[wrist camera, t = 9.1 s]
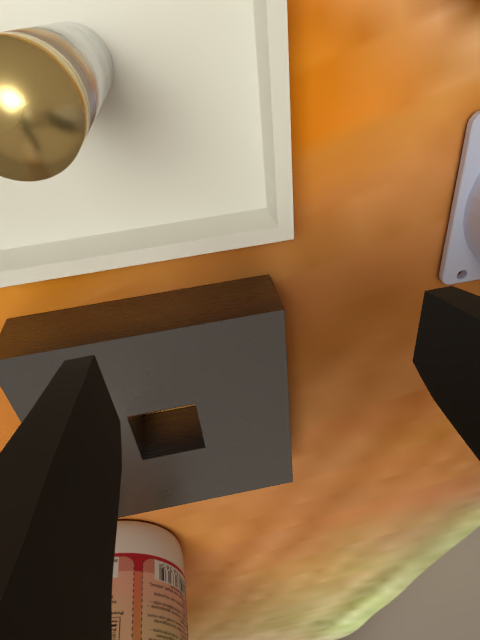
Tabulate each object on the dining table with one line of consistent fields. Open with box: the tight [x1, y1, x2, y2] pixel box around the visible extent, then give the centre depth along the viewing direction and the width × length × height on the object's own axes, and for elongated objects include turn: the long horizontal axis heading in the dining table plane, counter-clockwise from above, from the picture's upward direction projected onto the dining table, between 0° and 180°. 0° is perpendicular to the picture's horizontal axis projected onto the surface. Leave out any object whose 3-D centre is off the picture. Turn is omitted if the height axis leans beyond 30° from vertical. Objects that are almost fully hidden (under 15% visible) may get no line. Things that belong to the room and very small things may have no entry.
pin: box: [0, 21, 114, 182], centre depth 11 cm, size 2×2×8 cm
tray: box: [0, 0, 294, 288], centre depth 14 cm, size 13×13×3 cm
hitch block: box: [0, 275, 293, 518], centre depth 23 cm, size 12×12×3 cm
